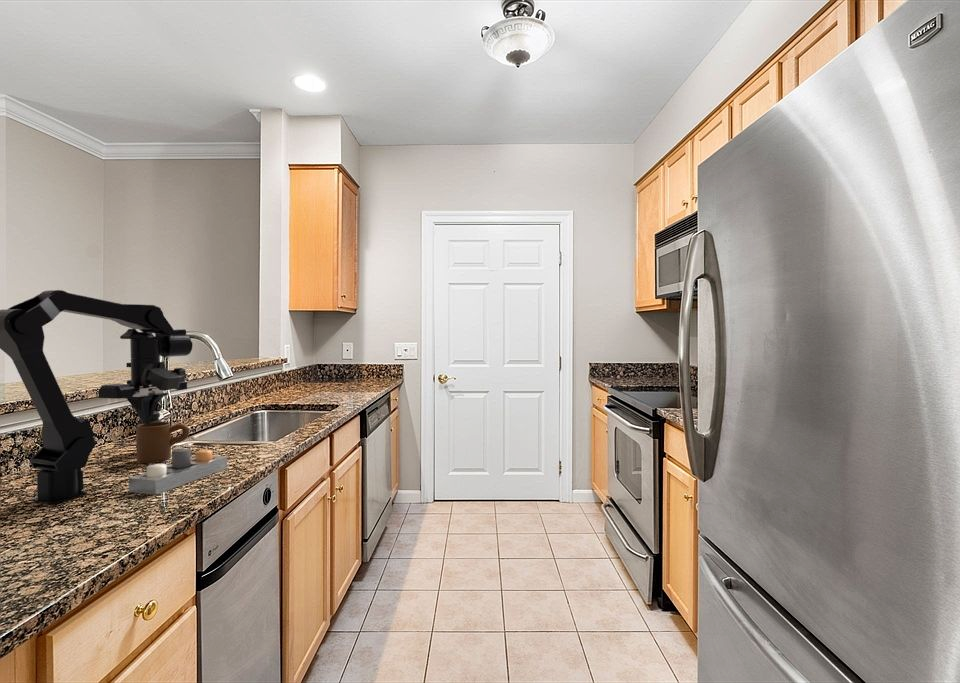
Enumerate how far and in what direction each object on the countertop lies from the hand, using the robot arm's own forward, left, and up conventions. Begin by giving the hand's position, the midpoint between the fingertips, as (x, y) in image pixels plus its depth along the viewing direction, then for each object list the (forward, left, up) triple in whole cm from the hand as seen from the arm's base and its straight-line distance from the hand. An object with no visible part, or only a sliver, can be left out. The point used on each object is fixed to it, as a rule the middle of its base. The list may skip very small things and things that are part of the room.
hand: (146, 423), depth 117 cm
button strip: (-1, -12, -12) cm, 17 cm away
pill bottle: (+17, +18, -12) cm, 28 cm away
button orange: (+5, -12, -12) cm, 17 cm away
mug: (+12, +8, -12) cm, 19 cm away
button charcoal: (-2, -12, -10) cm, 15 cm away
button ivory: (-8, -12, -12) cm, 18 cm away
